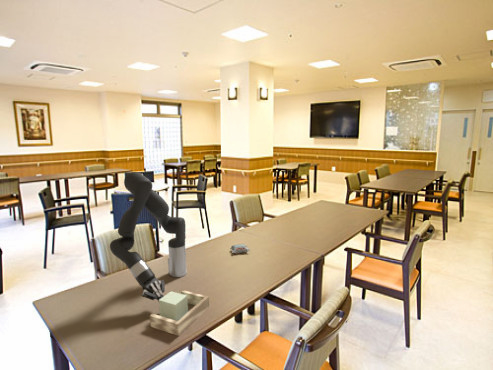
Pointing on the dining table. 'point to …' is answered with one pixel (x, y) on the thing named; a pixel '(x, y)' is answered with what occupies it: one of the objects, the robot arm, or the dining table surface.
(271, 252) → the dining table surface
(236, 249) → the packaged food
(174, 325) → the birch corral
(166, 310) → the sage block
